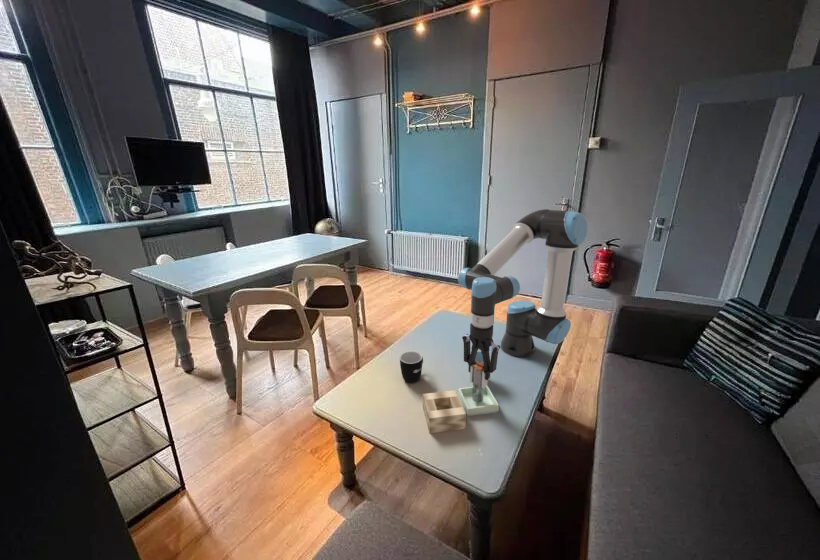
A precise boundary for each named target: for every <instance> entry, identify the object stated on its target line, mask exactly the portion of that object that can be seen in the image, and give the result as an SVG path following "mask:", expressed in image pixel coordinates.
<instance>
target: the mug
mask: <svg viewBox="0 0 820 560" xmlns="http://www.w3.org/2000/svg"><path fill="white" fill-rule="evenodd" d="M423 363H424V358H423V356H422V354H421V353H419V352H417V351H406V352H403V353H401V355H400V356H399V365H400V371H401V376H402V378H403V380H404V381H405V382H406V383H408V384H416V383H417V382H419V380H420V379H421V376H422V371H423V370H422V369H423Z"/></svg>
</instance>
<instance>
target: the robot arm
mask: <svg viewBox="0 0 820 560" xmlns="http://www.w3.org/2000/svg"><path fill="white" fill-rule="evenodd" d="M587 232H588V221H587V219H586V216H585V215H584V214H582V213H581V212H577V211H572V210H559V209H558V210H556V209H548V208H547V209H545V208H544V209H537V210H535V211H532V212H530V213H529V214H526V215H525V216H523V217H522V218H521V219H519V220H518V221H517V222H515V223H514V224H513V226H512V229H511V231H509V233H508V234H507V235H506V236H505V237H503V239H501V241H499V242H498V243H497V244H496V245H495V246H494V247H493V248H492V249H491V250H490V251H489V252H488V253H486V255H485V256H483V258H481V260H479V261H478V262H477V263H476V264H475V265H474V266H473V267H472V268H471V267H465V268H462V269H461V270H460V272H459V273H458V276H457V283H458V284H459V285H460V286H461V287H463V288H464V289H466V290H469V291H470V292H471V298H470V299H471V304H470V306H471V307H470V325H469V334H468V333H466V334H464V335H463V336H462V338H461V339H462V342H463V362H464V363H467V364H468V373H469V383H471V384H473V368H474V362H475V359H476V355H477V352H479V350H480V352H481V353H482V355H483V362H484V371H482V388H484V387H485V386H486V385H487V386H488V381H489V379H490V378H491V374H493V373H494V372H496V370H497V364H498V358H499V357H498V355H499V351H500V350H501V351H503V352H504V353H505V354H507V355H510V356H513V357H518V358H525V357H530V356H532V355H534V353H535V350H536V346H535V342H534V338H533V337H535V338H537V339H540V340H542V341H544V342H546V343H550V344H553V345H558V344H560V343H562V342H563V341H564V340H565V339H566V338H567V336H568V334H569V332H570V329H571V325H572V322H571V320H570V319H569V318H567V311H566V310H565V309H564V305H565V299H566V293H567V288H568V287H567V286H568V282H569V281H568V280H569V274H570V269H571V262H572V256H573V252H574V251H575V250H577V249H578V247H579V245H581V244H583V243H584V242H585V239H586V237H587V234H588V233H587ZM535 239H542V240H545V247H546V248H547V249H548V254H547V258H546V267H545V274H544V280H543V285H542V286H543V287H542V294H541V301H540V305H538V306H537V307H536V304H535V302H532V301H530V300H515V301H512V302H511V303H509V304H508V306H507V312H506V324H505V333H504V335H503V337H502V338H501V339H502V340H500V341H501V342H500V345H499V344H496V343H494V340H493V336H494V323H495V321H494V320H495V307H496V305H497V304H500V303H502V302H505V301H508V300H511V299H512V298H514V297H516V296H518V295H519V293H520V291H521V286H520V283H519V281H518V279H517V278H516V277H514V276H512V275H508V276H503V277H501V276H497V275H495V274H497V273H498V272H499V271H500V270H501V269H502V268H503V267H504V266H505V265H506V264H507V263H508V262H509V260H511V259H512V258H513V257H514V256H515V255H516V254H517V253H518V252H519V251H520V250H521V249H522V248H523V247H524V246H525V245H526V244H529V243H531V242H533V240H535ZM471 344H472V345H471ZM490 348H491V353H490Z"/></svg>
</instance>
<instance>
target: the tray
mask: <svg viewBox="0 0 820 560" xmlns="http://www.w3.org/2000/svg"><path fill="white" fill-rule="evenodd" d="M472 388H473V386H468V387H467V386H466V387H460V388H458V391H457V394H458V396H459V399H460V401H461V403H462V406H463V408H464V410H465V413H466V417H470V416H479V415H487V414H495V413H499V410H500V408H499V407H500V405H499V403H498V401H497V399H496V397H495V396H494V394H493V393H492V391H491V389H490V387H489V386H488V384H487V385H486V386H485V387H484V396H483V401H482V402H475V401H473V400H472Z"/></svg>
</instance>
